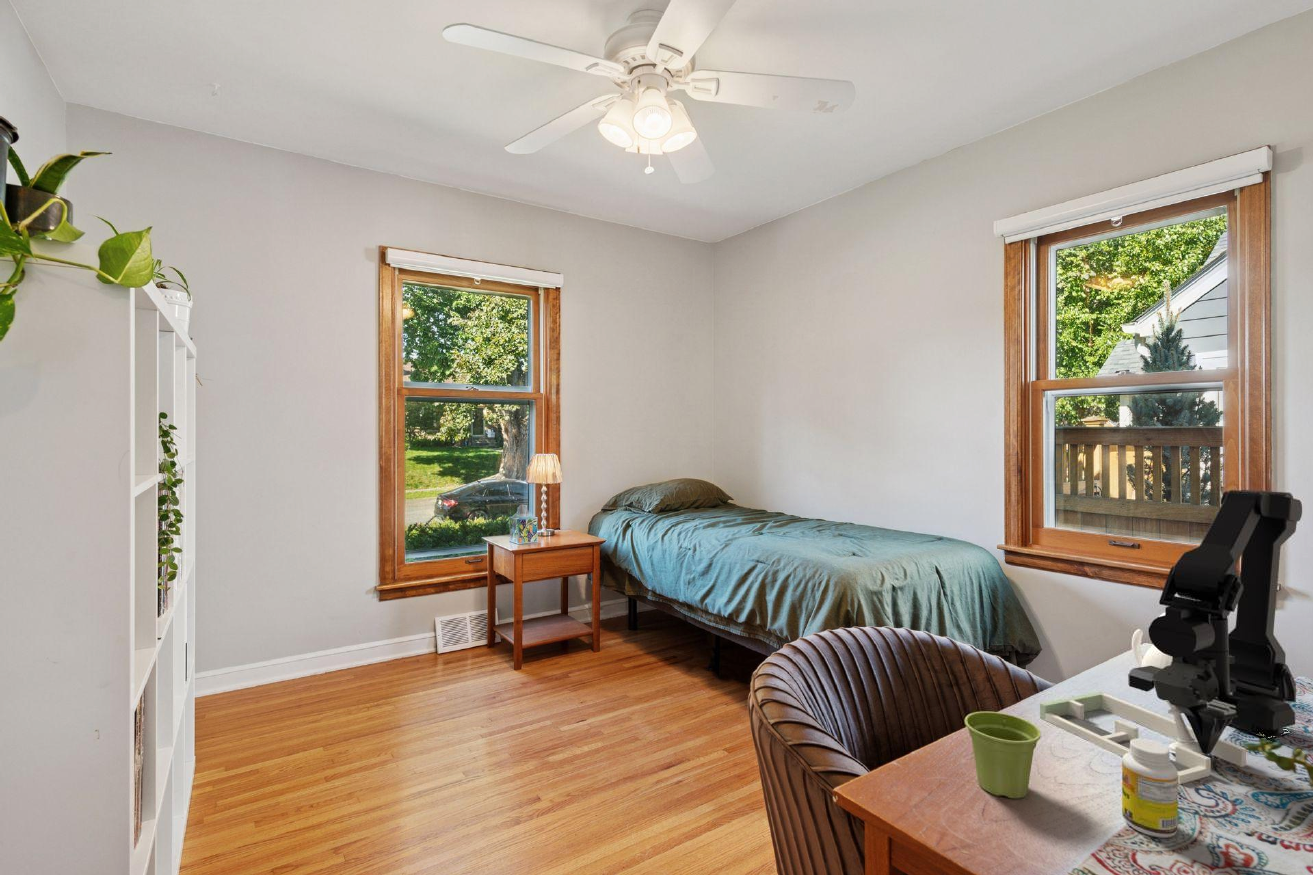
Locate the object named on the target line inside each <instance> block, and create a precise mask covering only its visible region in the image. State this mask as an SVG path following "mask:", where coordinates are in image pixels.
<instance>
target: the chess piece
mask: <svg viewBox="0 0 1313 875" xmlns="http://www.w3.org/2000/svg"><path fill="white" fill-rule="evenodd" d="M1165 702H1166V703H1167V705H1168V706H1169V707H1170V709H1168V710H1167V714H1169V715H1170V714H1171V715H1173V718H1174V719H1173V720H1174V721H1175V724H1176V729H1177V734H1178V739H1175V740H1176V741H1177V742H1176V741H1175V742H1173V743H1170V744H1169V745H1168V749H1169V752H1170V753H1172V754H1174V755H1175V754H1176V746H1182V747H1185V748H1187V749H1190V750H1192V751H1194V752H1197V753H1199V754H1201V755H1205V754H1204V753H1203V752H1202V750H1201V748H1200V746H1199V743H1198V742H1195V741H1194V740H1195V739H1194V738H1192V737H1191V735H1190V733H1189V731H1188V729H1187V727H1186V722H1185V721H1184V719H1183V716H1182V714H1184V713H1183V712H1182V711H1181V710H1180V709H1178V708H1177V707H1176V706H1175V705H1172V704H1170V703H1169V701H1168V700H1165Z"/></svg>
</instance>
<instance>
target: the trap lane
mask: <svg viewBox="0 0 1313 875" xmlns="http://www.w3.org/2000/svg"><path fill="white" fill-rule="evenodd" d="M1101 709H1102V710H1104V711H1107V712H1110V713H1112V714H1113V715H1116V716H1119V717H1122V718H1123V719H1126V720H1128V721H1131V722H1133V723H1136V724H1138V725H1140V726H1142V727H1145V728H1148V729H1150V730H1152V731H1155V732H1157V733H1160V734H1162V735H1164V736H1166V737H1169V738H1171V739H1174V740H1176V739H1178V734H1177V729H1176V724H1175V719H1171V718H1168V717H1166V716H1164V715H1161V714H1158V713H1155V712H1153V711H1151V710H1148V709H1145V708H1143V707H1140V706H1138V705H1135V704H1133V703H1130V702H1128V701H1125V700H1123V699H1120V698H1118V697H1116V696H1113V695H1110V694H1108V693H1105V692H1102V691H1096V692H1092V693H1086V694H1082V695H1076V696H1071V697H1067V698H1066V697H1065V698H1061V699H1057V700H1050V701H1046V702H1040V703H1039V718H1040V719H1042V720H1044V721H1046V722H1048V723H1050V724H1053V725H1054V726H1056V727H1059V728H1061V729H1063V730H1065V731H1067V732H1070V733H1072V734H1073V735H1076V736H1077V737H1080V738H1082V739H1084V740H1086V741H1088V742H1090V743H1093V744H1095V745H1097V746H1099V747H1101V748H1103V749H1105V750H1107V751H1109V752H1111V753H1113V754H1115V755H1118V756H1119V757H1122V758H1123V756H1124V755H1125V754H1126V753H1129V752H1130V750H1129V749H1130V741H1131V740H1132V739H1139V727H1138V726H1135V725H1132V724H1130V723H1128V722H1125V721H1123V720H1120V719H1118V720H1114V733H1111V731H1107V730H1105V729H1103V728H1101V727H1099V726H1096V725H1094V724H1092V723H1089V722H1087V721H1085V713H1086V712H1091V711H1096V710H1101ZM1185 725H1186V724H1185ZM1186 727H1187V729H1188V731H1189V733H1190V735H1191V737H1192V738H1194V739H1195V740H1194V741H1195V742H1198V741H1197V739H1196V737H1195V734H1194V732H1193V730H1192V727H1191V726H1189V725H1186ZM1174 755H1175V757H1174V758H1175V760H1173V759H1170V763H1172V764H1173V765H1174V766H1175V767H1176V769H1177V771H1178V785H1182V784H1186V783H1189V782H1190V783H1191V782H1193V781H1196V780H1200V779H1203V778H1206V777H1210V776H1211V774H1212V773H1211V765H1212V764H1211V762H1212V761H1211V758H1210V757H1208V756H1206V755H1205V754H1199V753H1197V752H1194V751H1192V750H1190V749H1187V748H1185V747H1182V746H1176V754H1174ZM1210 755H1212V756H1214V757H1217V758H1220V759H1222V760H1224V761H1226V762H1229V763H1231V764H1233V765H1237V766H1238V767H1241V768H1242V767H1246V766H1247V749H1246V748H1244V747H1243V746H1240V745H1237V744H1235V743H1233V742H1230V741H1227V740H1224V739H1222V738H1221V737H1220V738H1219V739H1218V741H1217V743H1216V745H1215V746H1214V748H1213V750H1212V752H1211V753H1210Z"/></svg>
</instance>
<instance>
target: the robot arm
mask: <svg viewBox="0 0 1313 875" xmlns="http://www.w3.org/2000/svg"><path fill="white" fill-rule="evenodd" d="M1220 502H1221V503H1220V504H1221V506H1220V507H1219V509H1218V511H1217V513H1216V515H1215V517H1214V519H1213V521H1212V523H1211V525H1210V526H1209V527H1208V529H1207V531H1206V534H1205V536H1204V537H1203V539H1202V541H1201V543H1200V544H1199V546H1198V547H1195V548H1193V549H1191V550H1188V551H1185V552H1184V553H1183V554H1182V555H1181V556H1180V557H1179V559H1178V560H1177V561H1176V562H1175V564H1174V565H1173V566H1171V567H1170V570H1169V573H1168V575H1167V578H1166V581H1165V584H1164V587H1163V590H1162V592H1161V595H1160V598H1159V601H1158V603H1159V605H1162V606H1165V609H1164V610H1165V612H1164V613H1165V615H1164V616H1160V615H1159V616H1160V617H1159V616H1158V617H1156V618H1154V619H1153V620H1152V621H1151V623H1150V626H1149V627H1148V636H1149V640H1150V642H1151V644H1152V645H1154V646H1155V647H1156V648H1157V649H1158V650H1159V651H1161V652H1162V653H1164V654H1166V655H1169V656H1172V663H1171V665H1170V666H1166V667H1164V668H1163V669H1162V668H1158V667H1154V666H1145V667H1139V666H1138V667H1134V668H1132V669H1131V670H1129V672H1128V674H1127V678H1128V679H1127V680H1128V681H1127V682H1128V684H1127V685H1128V686H1129V687H1130V688H1133V689H1136V690H1140V691H1143V692H1146V693H1147V692H1150V691H1152V690H1153V689H1155V693H1156V696H1157V698H1158V699H1159V700H1162V701H1165V702H1166V700H1168V701H1169V703H1170V704H1172V705H1175V706H1176V707H1177V708H1178V709H1180V710H1181V711H1182V712H1183V713H1182V714H1183V715H1184V717H1185V718H1186V720H1187V721H1188V723H1189V725H1190V727H1192V730H1193V732H1194V734H1195V737H1196V739H1197V741H1198V743H1199V746H1200V748H1201V750H1202V752H1203V753H1204V754H1203V755H1209V754H1210V753H1211V752H1212V750H1213V748H1214V746H1215V745H1216V743H1217V741H1218V739H1219V738H1220V739H1221V736H1222V734H1223V733H1224V731H1225V729H1226V728H1227V726H1230V727H1233V728H1236V729H1237V730H1238V729H1239V730H1242V731H1244V732H1247V733H1249V734H1252V733H1254V734H1259V732H1260V733H1261V734H1262V735H1263V734H1264V735H1265V736H1264V737H1265V738H1264V739H1266V738H1268V737H1271V736H1272V737H1273V736H1277V737H1279V736H1280V735H1281V734H1283V733H1284V732H1288V731H1289V730H1288V731H1287V730H1283V729H1288V728H1287V727H1290V726H1296V712H1295V711H1294V710H1293V708H1292V707H1291V705H1290V704H1289V703H1288V702H1290V703H1291V702H1292V703H1295V702H1296V701H1297V689H1296V688H1297V683H1296V681H1295V678H1294V677H1293V675H1292V672H1291V670H1290V668H1289V666H1288V665H1287V664H1286V651H1284V649H1283V647H1282V645H1281V644H1280V642H1279V640H1278V639H1277V638H1276V636H1275V635H1274V632H1275V631H1274V630H1275V618H1276V608H1277V607H1276V604H1277V593H1278V585H1279V584H1278V582H1279V570H1280V560H1281V558H1280V557H1281V547H1282V545H1283V544H1284V543H1285V542H1287V541H1288V540H1289V539H1290V538H1291V537H1292V536H1293V535H1294V534H1295V533H1296V532H1297V531H1296V530H1297V525H1298V524H1297V523H1298V522H1299V521H1301V519H1302V517H1303V516H1302V515H1303V506H1302V505H1303V504H1302V502H1301V500H1300V499H1297V498H1294V496H1293V494H1292V493H1291V492H1285V491H1269V490H1253V489H1251V490H1250V489H1241V490H1240V489H1239V490H1238V489H1237V490H1236V489H1230V490H1229V491H1228V490H1226V491H1225V490H1224V491H1223V493H1222V496H1221V501H1220ZM1239 561H1241V562H1240V571H1238V567H1237V564H1238V563H1239ZM1239 572H1240V573H1239ZM1235 611H1236V615H1235V616H1236V617H1235V618H1236V619H1235V627H1234V628H1233V629H1232V630H1231V631H1230V632H1229V618H1228V616H1230V614H1231V612H1232V613H1234V612H1235ZM1283 727H1285V728H1283ZM1254 734H1253V735H1254ZM1281 736H1282V735H1281ZM1273 738H1274V737H1273ZM1210 755H1211V754H1210Z"/></svg>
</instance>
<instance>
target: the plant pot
mask: <svg viewBox="0 0 1313 875" xmlns="http://www.w3.org/2000/svg"><path fill="white" fill-rule="evenodd" d="M964 725H965V726H966V728H967V729H968V733H969V736H970V738H971V742H972V750H973V757H974V765H975V770H976V771H975V772H976V778H977V781H978V785H979V787H981V789H983V790H985V791H987V793H988V792H989V794H992V795H995V796H1006V797H1008V798H1009V799H1019V798H1020V799H1021V798H1023V797H1025V796H1027V795H1028V791H1029V784H1030V777H1031V776H1030V775H1031V771H1032V763H1033V756H1034V751H1035V749H1036V747H1037V744H1038V741H1039V740H1040V739H1041V736H1042V732H1041V730H1040V729H1039V727H1037V726H1036V725H1035V724H1034V723H1032V722H1030V720H1026V719H1025V718H1022V717H1018V716H1016V715H1013V714H1008V713H1004V712H998V711H975V712H971V713H969V714H967V715H966V716H965V718H964Z"/></svg>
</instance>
